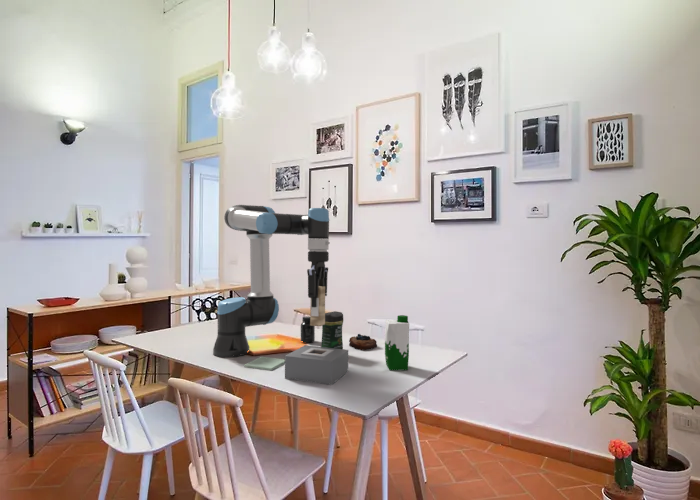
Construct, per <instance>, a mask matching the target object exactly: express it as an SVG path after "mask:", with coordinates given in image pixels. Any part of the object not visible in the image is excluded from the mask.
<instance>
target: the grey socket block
mask: <svg viewBox="0 0 700 500" xmlns="http://www.w3.org/2000/svg"><path fill="white" fill-rule="evenodd" d="M314 353H316V354H314ZM284 359H285V363H284V379H287V380H295V381H299V382H300V381H302V382H310V383H314V384H323V385H330V386H333V384H335V382H337V381H338V380H340V379H341V378H342V377H343V376H344V375H346V373H348V372H349V349H344V348H343V349H335V348H326V347H321V346H314V345H307V344H306V345H303V346H301V347H300V348H297V349H295V350H294V351H292V352H290V353H287V354H286V355H284Z"/></svg>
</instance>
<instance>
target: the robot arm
mask: <svg viewBox="0 0 700 500" xmlns="http://www.w3.org/2000/svg"><path fill="white" fill-rule="evenodd" d="M329 212H330V211H329V209H328V208H323V207H310V208H309V209H308V211H307V214H293V213H292V214H291V213H279V212H278V213H276V211H275V210H274V209H273V208H272V207H270V206H264V205H250V204H237V205H232V206H230V207H229V208H227V210H226V211H225V213H224V222H225V224H226V226H227V227H228V228H230V229H232V230H234V231H238V232H239V231H240V232H246V237H247V238H248V239H249V259H250V260H249V261H250V262H249V263H250V264H249V265H250V268H249V269H250V271H249V272H250V292H249V293H248V294H247V295H246V296H247V299H246V298H245V297H242V296H241V297H239V296H238V297H231V298H226V299H224V300H220V301H219V302H218V304H217V311H216V313H217V335H216V339H215V342H214V346H213V349H212V355H214V356H216V357H221V358H231V357H232V358H233V357H234V358H235V357H240V356H244V355H245V356H246V355H247V354H248V353H247V351H248V350H249V351H250V344H249V342H248V341H249V340H248V339H247V335H246V328H247V327H255V326H261V325H263V326H265V325H268V324H272V323H275V321H276V320H277V318H278V315H279V312H280V305H279V301H278V299H277V298H275V297H274V294H273V293H272V292H271V281H270V280H271V278H270V277H271V276H270V275H271V272H270V271H271V270H270V266H271V265H270V239H271V237H272V236H273V235H297V236H304V235H306V236H308V237H307V250H308V252H307V261H308V262H309V263H310V262H311V265H310V269H309V268H308V269H307V270H306V272H307V273H306V274H307V293H308V294H307V296H308V298H309V299H310V306H311V316H319V298H318V289H319V286H325V297H327V296H328V272H329V267H327V266H326V264H325V263H326V262H329V259H330V258H329V255H330V254H329V253H330V252H329V245H330V238H329V236H330V235H329V234H330V213H329Z"/></svg>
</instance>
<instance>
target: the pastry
mask: <svg viewBox="0 0 700 500" xmlns="http://www.w3.org/2000/svg"><path fill="white" fill-rule="evenodd" d="M377 342H378V341H377V340H376V339H375V338H373V337H371V336H370V335H365V334H361V333H358V334H357V335H356V336H355V335H354V336H351V337H349V340H348V343H349V344H348V345H349V347H350V348H353V349H355V350H358V351H369V350H373V349H376V348H378V344H377Z"/></svg>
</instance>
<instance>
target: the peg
mask: <svg viewBox="0 0 700 500" xmlns="http://www.w3.org/2000/svg"><path fill="white" fill-rule="evenodd" d="M318 298H319V316H311V305H310V306H309V307H310V310H309V311H310V313H309V314H310V316H309V317H310V325H311V326H315V327H322V325H324V324H325V313H326V296H325V286H319V289H318Z"/></svg>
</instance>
